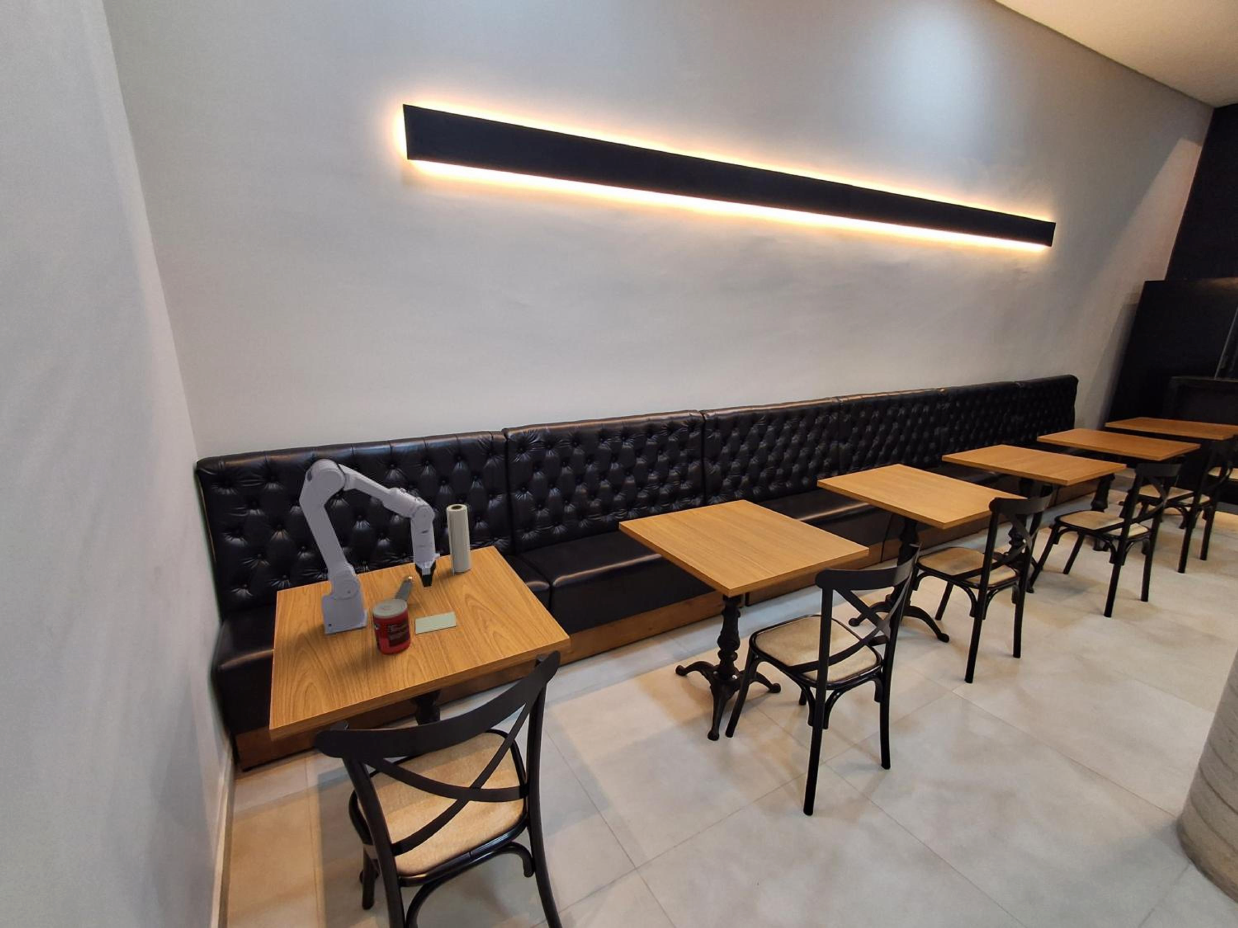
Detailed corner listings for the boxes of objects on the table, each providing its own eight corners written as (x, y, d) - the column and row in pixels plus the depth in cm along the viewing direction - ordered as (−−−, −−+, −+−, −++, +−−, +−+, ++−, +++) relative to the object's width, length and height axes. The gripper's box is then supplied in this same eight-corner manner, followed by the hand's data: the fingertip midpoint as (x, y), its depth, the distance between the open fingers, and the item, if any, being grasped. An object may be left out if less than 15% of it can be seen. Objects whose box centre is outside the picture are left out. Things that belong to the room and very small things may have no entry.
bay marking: (415, 634, 130) (415, 633, 130) (415, 619, 136) (415, 619, 136) (456, 626, 134) (456, 625, 134) (454, 612, 140) (453, 611, 140)
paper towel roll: (466, 562, 168) (461, 502, 162) (474, 568, 164) (470, 507, 158) (445, 569, 163) (439, 507, 157) (453, 576, 159) (447, 513, 153)
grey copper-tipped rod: (398, 618, 135) (397, 607, 134) (387, 619, 134) (386, 608, 133) (415, 584, 152) (413, 573, 151) (405, 584, 152) (404, 574, 151)
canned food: (386, 635, 129) (380, 597, 126) (416, 636, 129) (412, 598, 126) (371, 655, 122) (365, 615, 119) (403, 656, 122) (398, 616, 119)
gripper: (440, 551, 137) (444, 595, 140) (436, 530, 149) (440, 571, 153) (412, 555, 134) (416, 600, 138) (411, 533, 147) (415, 575, 151)
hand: (427, 585), depth 145 cm, fingers closed
